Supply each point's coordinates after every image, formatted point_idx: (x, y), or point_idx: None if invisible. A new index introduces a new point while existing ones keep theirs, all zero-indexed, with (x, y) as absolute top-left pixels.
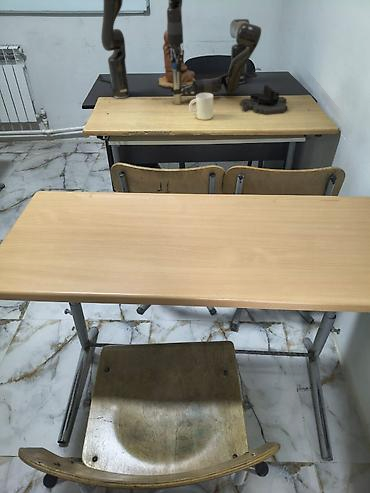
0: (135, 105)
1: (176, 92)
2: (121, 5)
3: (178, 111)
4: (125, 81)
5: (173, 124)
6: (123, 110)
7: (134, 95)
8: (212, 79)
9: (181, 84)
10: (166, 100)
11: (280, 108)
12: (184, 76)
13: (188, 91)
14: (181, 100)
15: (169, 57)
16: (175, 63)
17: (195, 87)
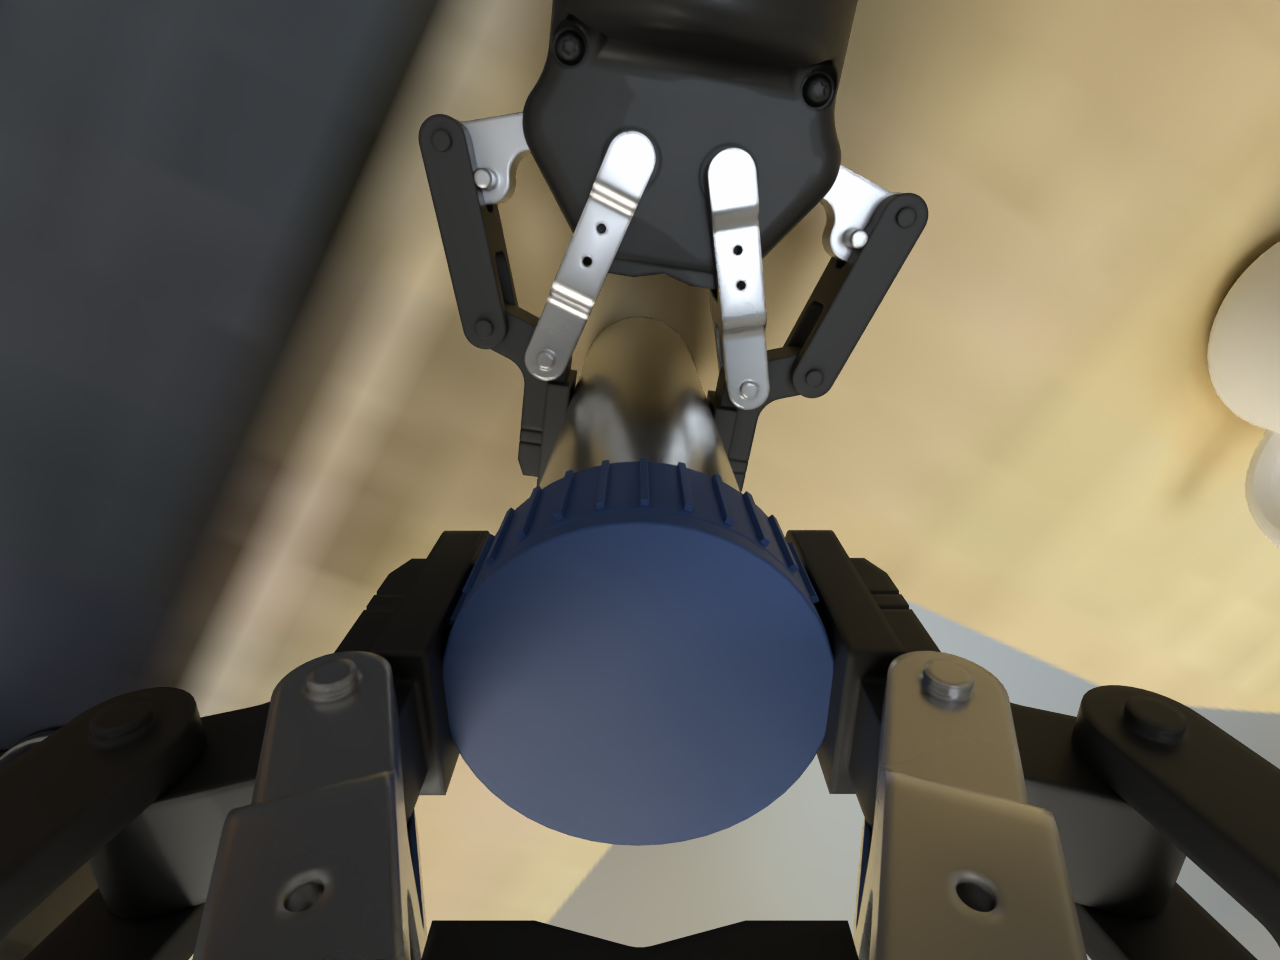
0: (465, 778)
1: (740, 482)
2: None
3: (909, 496)
4: (21, 928)
5: (1177, 685)
6: (548, 892)
7: (117, 687)
8: None
9: (460, 250)
10: (464, 451)
11: None
12: None
13: (867, 311)
14: (681, 341)
15: (188, 925)
16: (638, 729)
17: (795, 83)
